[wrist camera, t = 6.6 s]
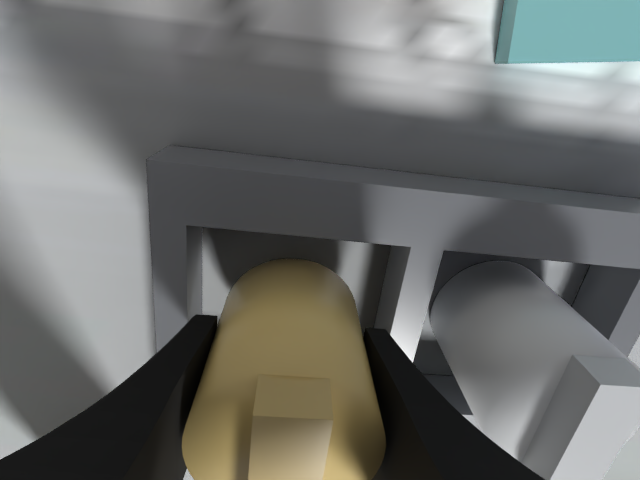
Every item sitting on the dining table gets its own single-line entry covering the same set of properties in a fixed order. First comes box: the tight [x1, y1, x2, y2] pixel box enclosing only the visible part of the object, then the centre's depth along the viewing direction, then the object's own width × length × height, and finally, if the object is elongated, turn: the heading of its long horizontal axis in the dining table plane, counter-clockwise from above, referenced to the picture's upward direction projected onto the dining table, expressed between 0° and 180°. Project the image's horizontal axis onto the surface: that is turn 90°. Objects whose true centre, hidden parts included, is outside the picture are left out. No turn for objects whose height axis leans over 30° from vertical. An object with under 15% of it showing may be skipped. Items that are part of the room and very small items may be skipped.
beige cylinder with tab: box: [182, 258, 386, 480], centre depth 10 cm, size 4×4×6 cm
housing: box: [146, 145, 640, 431], centre depth 14 cm, size 16×11×2 cm
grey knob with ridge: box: [430, 261, 640, 480], centre depth 12 cm, size 4×4×6 cm
